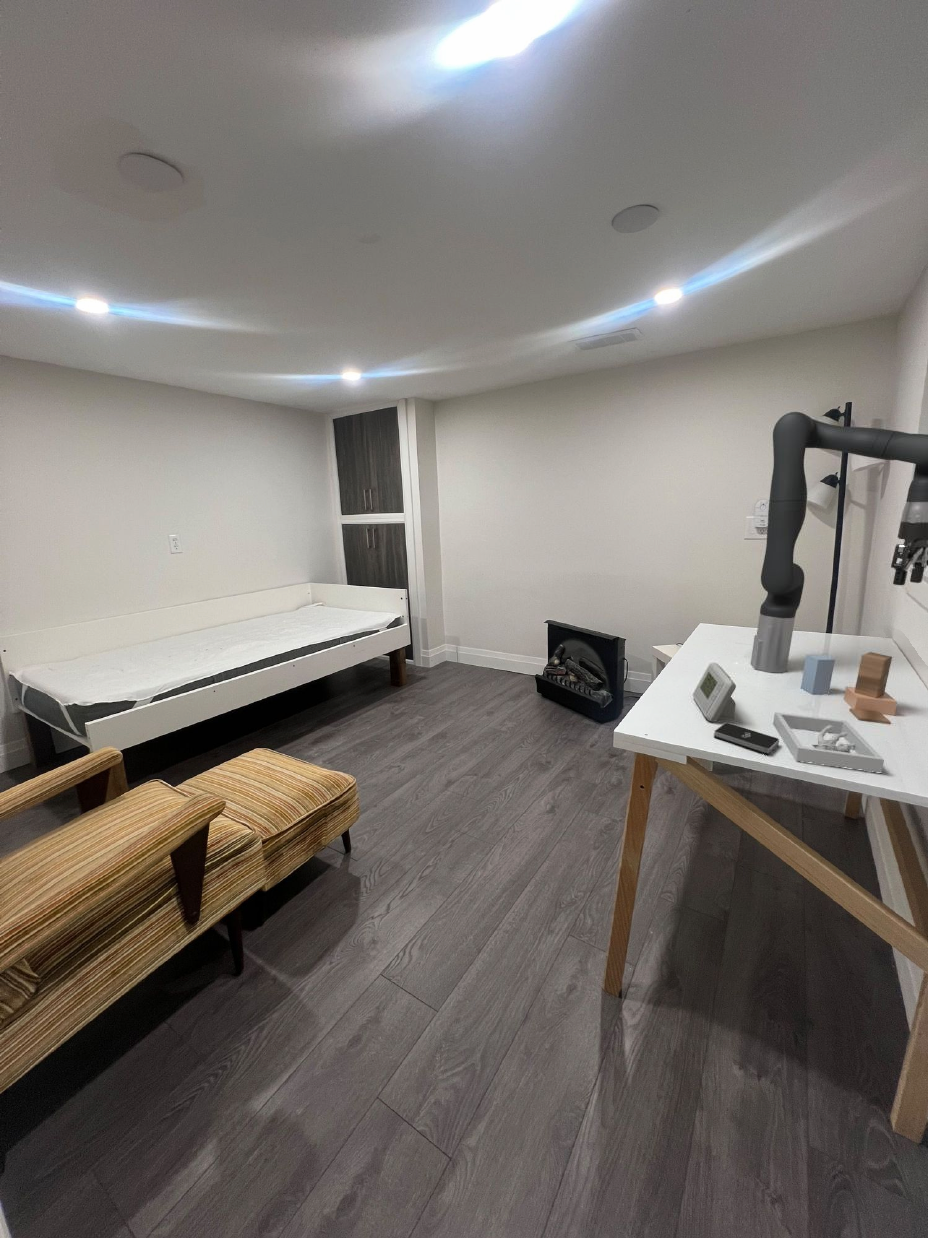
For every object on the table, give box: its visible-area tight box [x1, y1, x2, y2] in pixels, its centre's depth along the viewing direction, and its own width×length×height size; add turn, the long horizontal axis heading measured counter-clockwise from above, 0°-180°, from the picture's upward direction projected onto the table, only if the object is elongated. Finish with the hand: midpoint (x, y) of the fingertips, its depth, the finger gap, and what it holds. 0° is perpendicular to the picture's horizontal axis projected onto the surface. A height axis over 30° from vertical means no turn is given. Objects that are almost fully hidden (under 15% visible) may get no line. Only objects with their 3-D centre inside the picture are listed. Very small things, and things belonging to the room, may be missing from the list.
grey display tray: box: [772, 711, 885, 773], centre depth 103 cm, size 14×18×3 cm
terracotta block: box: [843, 685, 898, 717], centre depth 122 cm, size 8×8×4 cm
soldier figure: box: [812, 725, 855, 752], centre depth 99 cm, size 8×5×12 cm
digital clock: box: [692, 662, 737, 723], centre depth 120 cm, size 16×9×11 cm, turn 155°
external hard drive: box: [713, 722, 780, 756], centre depth 105 cm, size 7×11×2 cm, turn 41°
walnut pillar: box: [854, 651, 893, 698], centre depth 121 cm, size 4×4×10 cm
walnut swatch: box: [849, 707, 891, 725], centre depth 117 cm, size 6×6×1 cm
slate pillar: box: [800, 654, 836, 696], centre depth 132 cm, size 4×4×10 cm
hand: (907, 583), depth 126 cm, fingers open, 8 cm apart
